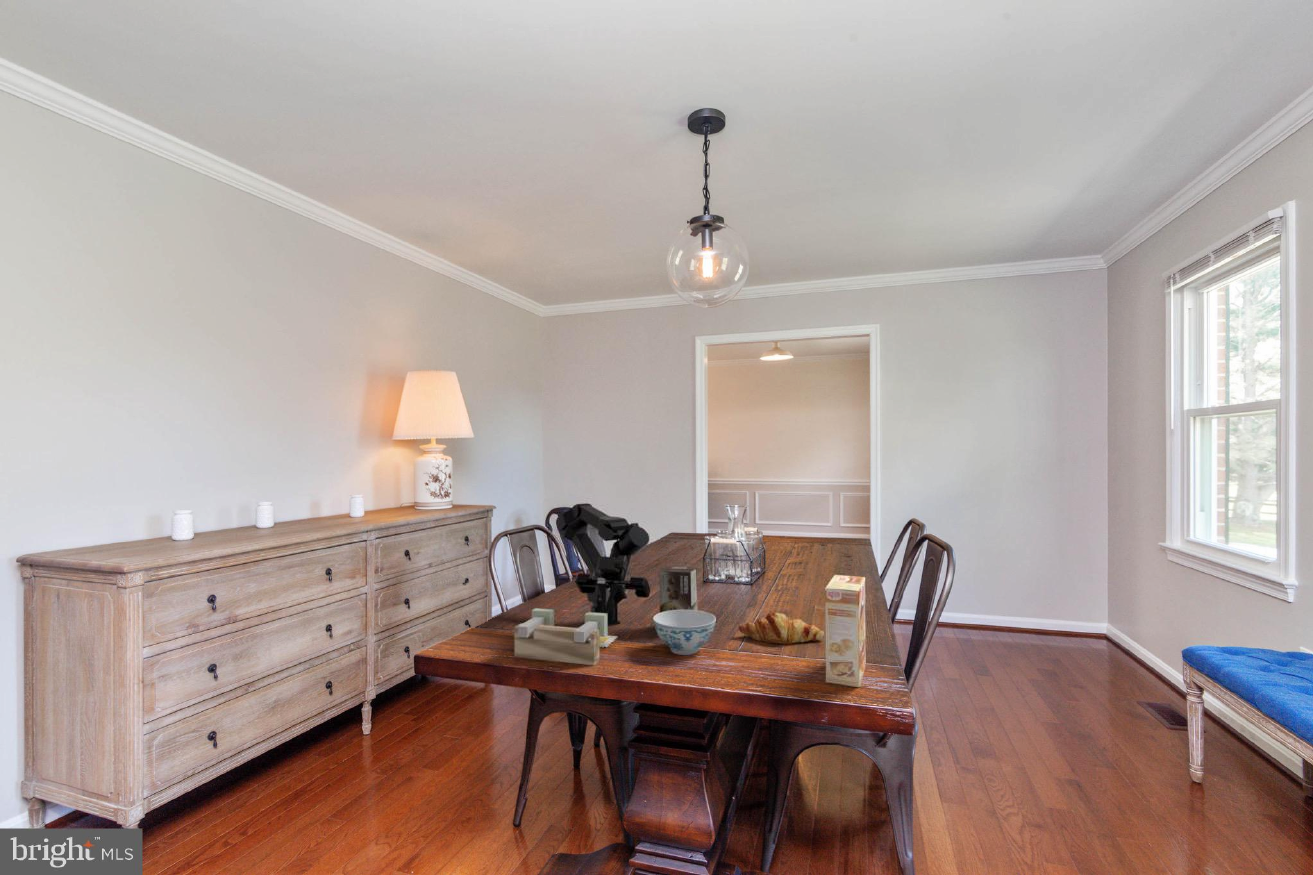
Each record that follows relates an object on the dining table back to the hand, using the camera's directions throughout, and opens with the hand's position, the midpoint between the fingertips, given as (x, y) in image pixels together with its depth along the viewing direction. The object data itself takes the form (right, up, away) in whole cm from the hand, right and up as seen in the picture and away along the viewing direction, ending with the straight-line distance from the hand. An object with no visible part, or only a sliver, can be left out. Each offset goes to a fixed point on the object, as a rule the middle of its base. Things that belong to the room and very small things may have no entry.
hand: (604, 614), depth 153 cm
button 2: (-3, -3, -9) cm, 10 cm away
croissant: (+44, -8, +4) cm, 45 cm away
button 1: (-16, -4, -5) cm, 17 cm away
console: (-10, -7, -9) cm, 16 cm away
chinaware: (+20, -8, -4) cm, 21 cm away
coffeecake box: (+54, -7, -20) cm, 58 cm away
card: (-4, -8, +4) cm, 9 cm away
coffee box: (+19, -8, +13) cm, 24 cm away
